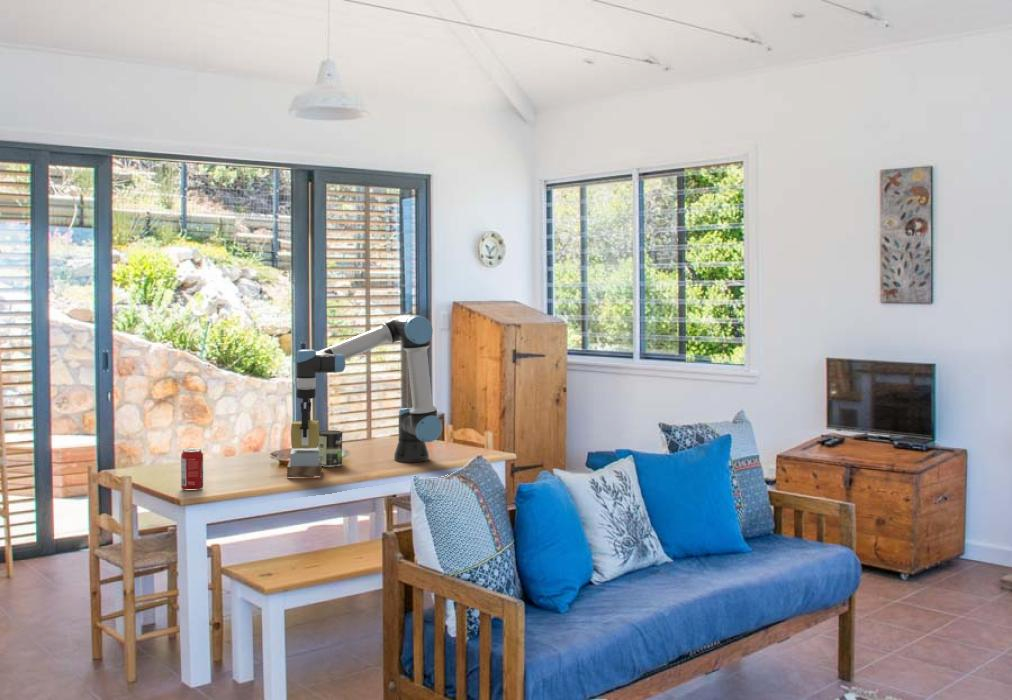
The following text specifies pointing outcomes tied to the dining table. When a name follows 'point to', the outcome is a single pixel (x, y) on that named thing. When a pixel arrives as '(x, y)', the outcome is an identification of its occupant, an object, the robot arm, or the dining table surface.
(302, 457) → the tower top
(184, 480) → the soda can
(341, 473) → the dining table surface
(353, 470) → the dining table surface
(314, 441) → the olive yellow cube
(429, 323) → the robot arm
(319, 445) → the coffee can
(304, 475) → the tower base
